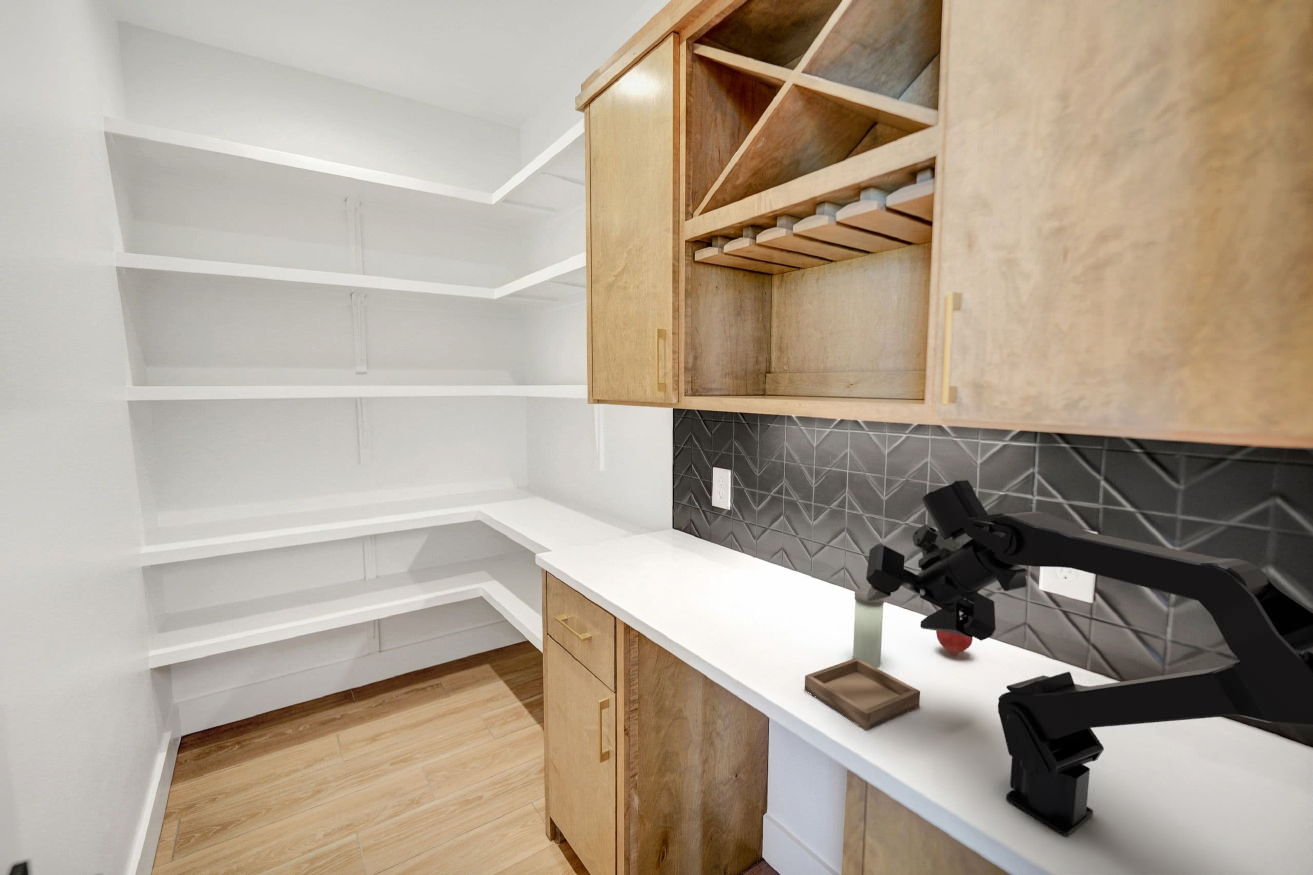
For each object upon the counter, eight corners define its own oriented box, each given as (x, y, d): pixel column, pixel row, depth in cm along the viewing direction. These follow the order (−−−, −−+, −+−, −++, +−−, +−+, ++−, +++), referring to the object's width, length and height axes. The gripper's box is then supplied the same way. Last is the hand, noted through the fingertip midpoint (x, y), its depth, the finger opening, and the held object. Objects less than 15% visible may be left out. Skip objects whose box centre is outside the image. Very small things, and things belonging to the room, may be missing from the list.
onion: (928, 649, 104) (930, 608, 104) (951, 644, 106) (953, 604, 106) (954, 664, 99) (957, 620, 98) (978, 659, 101) (981, 616, 100)
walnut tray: (919, 706, 86) (920, 691, 86) (866, 730, 80) (866, 713, 80) (855, 671, 96) (856, 657, 96) (804, 690, 90) (805, 675, 90)
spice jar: (887, 664, 99) (890, 595, 98) (868, 671, 96) (871, 600, 95) (864, 652, 103) (867, 586, 102) (846, 658, 101) (848, 591, 99)
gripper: (1024, 553, 80) (949, 594, 92) (907, 493, 80) (846, 542, 92) (1031, 622, 72) (948, 657, 84) (902, 556, 73) (837, 601, 84)
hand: (894, 611), depth 86 cm, fingers open, 9 cm apart
